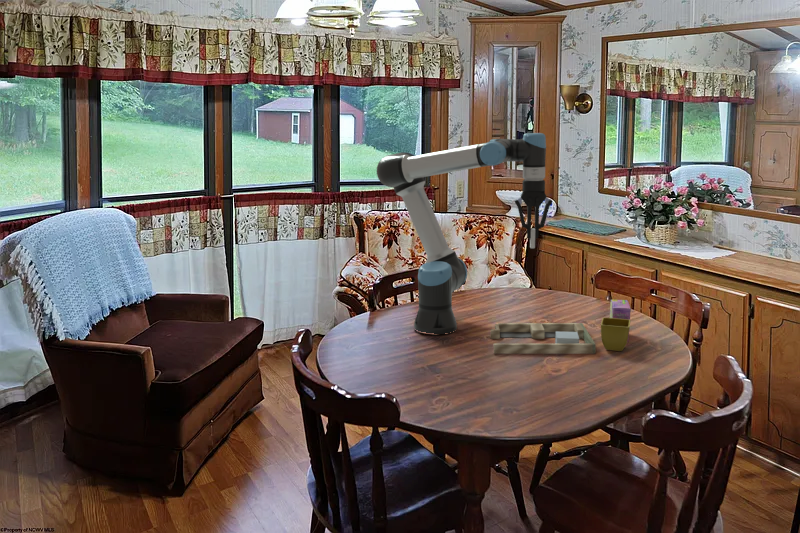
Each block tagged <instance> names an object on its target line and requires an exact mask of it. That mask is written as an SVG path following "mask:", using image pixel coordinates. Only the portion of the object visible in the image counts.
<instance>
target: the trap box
mask: <svg viewBox="0 0 800 533" xmlns="http://www.w3.org/2000/svg"><path fill="white" fill-rule="evenodd" d="M494 325H495V327H494V328H495V329H490V339H491V340H492V339H493V340H494V339H495V340H496V339H497V340H499V339H503V338H504V339H514V338H515V339H534V340H535V339H536V340H539V339H540V340H542V339H543V340H544V339H547V338H548V339H553V338H554V339H555V337H556V331H559V332H577V333H578V336H579V340H580V339H582V340H583V341H584V342H585V343H579V344H556V343H493V354H494V355H495V354H496V355H497V354H498V355H499V354H501V355H502V354H504V355H505V354H510V355H511V354H512V355H513V354H528V355H529V354H542V355H543V354H546V355H547V354H555V355H556V354H557V355H559V354H560V355H561V354H563V355H565V354H571V355H572V354H574V355H575V354H576V355H577V354H580V355H581V354H582V355H584V354H585V355H586V354H587V355H588V354H596V350H597V349H596V348H597V345H596V343H595V341H594V340H593V338H592V337H591V335H590V333H589V331H588V330H587V328H586V327H585V325H584V323H583V322H579V323H577V322H574V323H573V322H560V323H559V322H558V323H557V322H556V323H555V322H553V323H551V322H549V323H548V322H546V323H545V322H543V323H542V322H540V323H539V322H536V323H535V322H531V323H530V322H528V323H527V322H526V323H525V322H520V323H518V322H516V323H515V322H512V323H511V322H509V323H508V322H507V323H505V322H500V323H499V322H498V323H495V324H494Z"/></svg>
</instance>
